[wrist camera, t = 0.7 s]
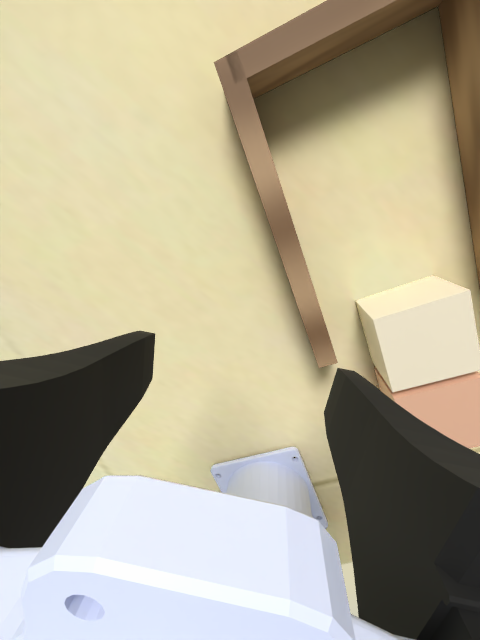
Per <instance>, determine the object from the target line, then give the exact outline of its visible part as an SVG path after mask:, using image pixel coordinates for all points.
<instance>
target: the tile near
mask: <svg viewBox="0 0 480 640" xmlns="http://www.w3.org/2000/svg"><path fill="white" fill-rule="evenodd" d="M355 302H356V305H357V309H358V312H359V316H360V319H361V323H362V326H363V330H364V333H365V337H366V341H367V344H368V348H369V351H370V355H371V358H372V362H373V364H374V365H375V367H376V368H377V370H378V371H379V373H380V374H381V376H382V377H383V379H384V380H385V382H386V383H387V385H388V386H389V388H390V389H391V391H392V392H396V391H400V390H404V389H408V388H412V387H416V386H420V385H424V384H428V383H432V382H436V381H440V380H444V379H448V378H452V377H456V376H460V375H464V374H468V373H472V372H475V371H479V370H480V348H479V342H478V336H477V329H476V323H475V317H474V311H473V304H472V298H471V292H470V290H469V289H467V288H464V287H462V286H459V285H457V284H454V283H452V282H449V281H447V280H444V279H442V278H439V277H437V276H434V275H432V276H429V277H426V278H422V279H419V280H416V281H413V282H410V283H407V284H404V285H401V286H398V287H395V288H392V289H389V290H386V291H383V292H379V293H376V294H373V295H370V296H367V297H364V298H361V299H358V300H355Z"/></svg>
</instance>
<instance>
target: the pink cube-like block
mask: <svg viewBox="0 0 480 640" xmlns="http://www.w3.org/2000/svg"><path fill="white" fill-rule="evenodd" d="M374 370H375V373H376V377H377V380H378V384H379V387H380V391H381V392H383V393H384V394H385V395H387V396H388V397H389V398H390V399H392V400H393V401H394V402H396V403H397V404H398V405H400V406H401V407H402V408H404V409H405V410H407V411H408V412H409V413H411V414H412V415H414V416H415V417H417V418H418V419H419V420H421V421H423V422H424V423H426V424H427V425H429V426H430V427H432V428H434V429H435V430H437V431H439V432H440V433H442V434H443V435H445V436H447V437H448V438H450V439H452V440H454V441H456V442H457V443H459V444H461V445H463V446H465V447H467V448H473V447H478V446H480V373H478V372H477V371H475V372H472V373H468V374H464V375H460V376H456V377H452V378H448V379H444V380H440V381H436V382H432V383H428V384H424V385H420V386H416V387H412V388H408V389H404V390H400V391H396V392H392V391H391V389H390V388H389V386H388V385H387V383H386V382H385V380H384V379H383V377H382V376H381V374H380V373H379V371H378V370H377V368H374Z"/></svg>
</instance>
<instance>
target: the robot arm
mask: <svg viewBox="0 0 480 640" xmlns="http://www.w3.org/2000/svg"><path fill="white" fill-rule="evenodd" d="M154 345H155V334H154V333H149V332H144V331H136V332H132V333H128V334H125V335H121V336H118V337H115V338H112V339H108V340H105V341H102V342H99V343H95V344H91V345H88V346H84V347H80V348H77V349H73V350H69V351H64V352H60V353H55V354H49V355H44V356H38V357H31V358H23V359H14V360H6V361H0V640H480V454H478V453H476V452H474V451H472V450H471V449H469V448H467V447H465V446H463V445H461V444H459V443H457V442H456V441H454V440H452V439H450V438H448V437H447V436H445V435H443V434H442V433H440V432H439V431H437V430H435V429H434V428H432V427H430V426H429V425H427V424H426V423H424V422H423V421H421V420H419V419H418V418H417V417H415V416H414V415H412V414H411V413H409V412H408V411H407V410H405V409H404V408H402V407H401V406H400V405H398V404H397V403H396V402H394V401H393V400H392V399H390V398H389V397H388V396H387V395H385V394H384V393H383V392H381V391H380V390H379V389H378V388H376V387H375V386H374V385H373V384H371V383H370V382H369V381H367V380H366V379H365V378H364V377H362V376H361V375H359V374H358V373H356V372H354V371H351V370H345V369H340V368H338V369H337V372H336V375H335V378H334V381H333V385H332V388H331V391H330V394H329V398H328V401H327V404H326V407H325V411H324V416H325V426H326V434H327V439H328V443H329V446H330V450H331V454H332V458H333V462H334V465H335V469H336V473H337V477H338V480H339V484H340V488H341V492H342V496H343V501H344V506H345V512H346V518H347V525H348V531H349V538H350V546H351V553H352V560H353V568H354V576H355V586H356V595H357V603H358V613H359V618H358V617H356V616H354V615H352V614H351V613H350V609H349V604H348V599H347V593H346V588H345V583H344V578H343V573H342V568H341V562H340V557H339V552H338V547H337V543H336V541H335V540H334V539H333V538H332V537H331V535H330V534H329V533H328V532H327V531H326V528H327V527H328V522H327V519H326V516H325V514H324V512H323V509H322V507H321V504H320V502H319V499H318V497H317V494H316V492H315V489H314V487H313V484H312V482H311V479H310V477H309V474H308V472H307V470H306V467H305V465H304V462H303V460H302V457H301V455H300V452H299V450H298V449H297V448H296V447H289V448H284V449H280V450H275V451H271V452H267V453H262V454H258V455H254V456H249V457H245V458H241V459H236V460H232V461H227V462H223V463H219V464H214V465H213V466H212V467H211V473H212V475H213V477H214V479H215V481H216V483H217V485H218V487H219V489H220V490H221V492H218V491H213V490H208V489H203V488H199V487H194V486H189V485H184V484H179V483H175V482H170V481H165V480H160V479H156V478H151V477H146V476H141V475H110V476H104V477H103V478H101V479H99V480H97V481H95V482H94V483H92V484H90V485H88V486H87V487H85V488H83V487H84V485H85V483H86V481H87V479H88V478H89V476H90V474H91V473H92V471H93V469H94V467H95V466H96V464H97V462H98V460H99V459H100V457H101V455H102V454H103V452H104V451H105V449H106V448H107V446H108V445H109V443H110V442H111V440H112V439H113V438H114V436H115V435H116V434H117V432H118V431H119V429H120V428H121V427H122V425H123V424H124V423H125V421H126V420H127V419H128V417H129V416H130V415H131V413H132V412H133V410H134V409H135V408H136V406H137V405H138V403H139V402H140V401H141V399H142V397H143V396H144V394H145V392H146V390H147V388H148V386H149V384H150V382H151V380H152V377H153V361H154ZM293 457H297V458H293ZM218 474H220V475H218Z"/></svg>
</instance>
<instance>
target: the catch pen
mask: <svg viewBox="0 0 480 640" xmlns="http://www.w3.org/2000/svg"><path fill="white" fill-rule="evenodd" d="M437 6H438V7H439V14H440V21H441V28H442V34H443V41H444V48H445V55H446V62H447V68H448V75H449V82H450V89H451V96H452V103H453V109H454V116H455V123H456V130H457V137H458V143H459V150H460V157H461V164H462V171H463V178H464V184H465V191H466V198H467V205H468V212H469V218H470V225H471V232H472V239H473V246H474V253H475V259H476V266H477V273H478V280H479V287H480V0H327V1H325V2H323V3H321V4H320V5H318V6H316V7H314V8H312V9H310V10H309V11H307V12H305V13H303V14H301V15H300V16H298V17H296V18H294V19H292V20H290V21H289V22H287V23H285V24H283V25H281V26H279V27H278V28H276V29H274V30H272V31H270V32H268V33H267V34H265V35H263V36H261V37H259V38H257V39H256V40H254V41H252V42H250V43H248V44H247V45H245V46H243V47H241V48H239V49H237V50H236V51H234V52H232V53H230V54H228V55H226V56H225V57H223V58H221V59H219V60H217V61H215V62H214V64H215V67H216V70H217V73H218V76H219V79H220V81H221V84H222V87H223V90H224V93H225V96H226V99H227V102H228V105H229V108H230V111H231V113H232V116H233V119H234V122H235V125H236V128H237V131H238V134H239V137H240V140H241V143H242V146H243V148H244V151H245V154H246V157H247V160H248V163H249V166H250V169H251V172H252V175H253V178H254V180H255V183H256V186H257V189H258V192H259V195H260V198H261V201H262V204H263V207H264V210H265V212H266V215H267V218H268V221H269V224H270V227H271V230H272V233H273V236H274V239H275V242H276V245H277V247H278V250H279V253H280V256H281V259H282V262H283V265H284V268H285V271H286V274H287V277H288V279H289V282H290V285H291V288H292V291H293V294H294V297H295V300H296V303H297V306H298V309H299V311H300V314H301V317H302V320H303V323H304V326H305V329H306V332H307V335H308V338H309V341H310V344H311V346H312V349H313V352H314V355H315V358H316V361H317V364H318V367H319V368H321V367H324V366H328V365H332V364H335V363H338V362H337V359H336V356H335V353H334V350H333V347H332V344H331V340H330V337H329V334H328V331H327V328H326V325H325V322H324V319H323V315H322V312H321V309H320V306H319V303H318V300H317V297H316V294H315V290H314V287H313V284H312V281H311V278H310V275H309V272H308V269H307V265H306V262H305V259H304V256H303V253H302V250H301V247H300V244H299V240H298V237H297V234H296V231H295V228H294V225H293V222H292V219H291V215H290V212H289V209H288V206H287V203H286V200H285V197H284V194H283V190H282V187H281V184H280V181H279V178H278V175H277V172H276V169H275V165H274V162H273V159H272V156H271V153H270V150H269V147H268V144H267V140H266V137H265V134H264V131H263V128H262V125H261V122H260V119H259V115H258V112H257V109H256V106H255V103H254V100H253V99H254V98H256V97H258V96H260V95H262V94H264V93H266V92H268V91H270V90H272V89H274V88H276V87H278V86H280V85H282V84H284V83H286V82H288V81H290V80H292V79H294V78H296V77H298V76H300V75H302V74H304V73H306V72H308V71H310V70H312V69H314V68H316V67H318V66H320V65H322V64H324V63H326V62H328V61H330V60H332V59H334V58H336V57H338V56H340V55H342V54H344V53H346V52H348V51H350V50H352V49H354V48H356V47H358V46H360V45H362V44H364V43H366V42H368V41H370V40H372V39H374V38H376V37H378V36H380V35H382V34H384V33H386V32H388V31H390V30H392V29H394V28H396V27H398V26H400V25H402V24H404V23H406V22H408V21H410V20H412V19H414V18H415V17H417V16H419V15H421V14H423V13H425V12H427V11H429V10H431V9H433V8H435V7H437Z"/></svg>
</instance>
